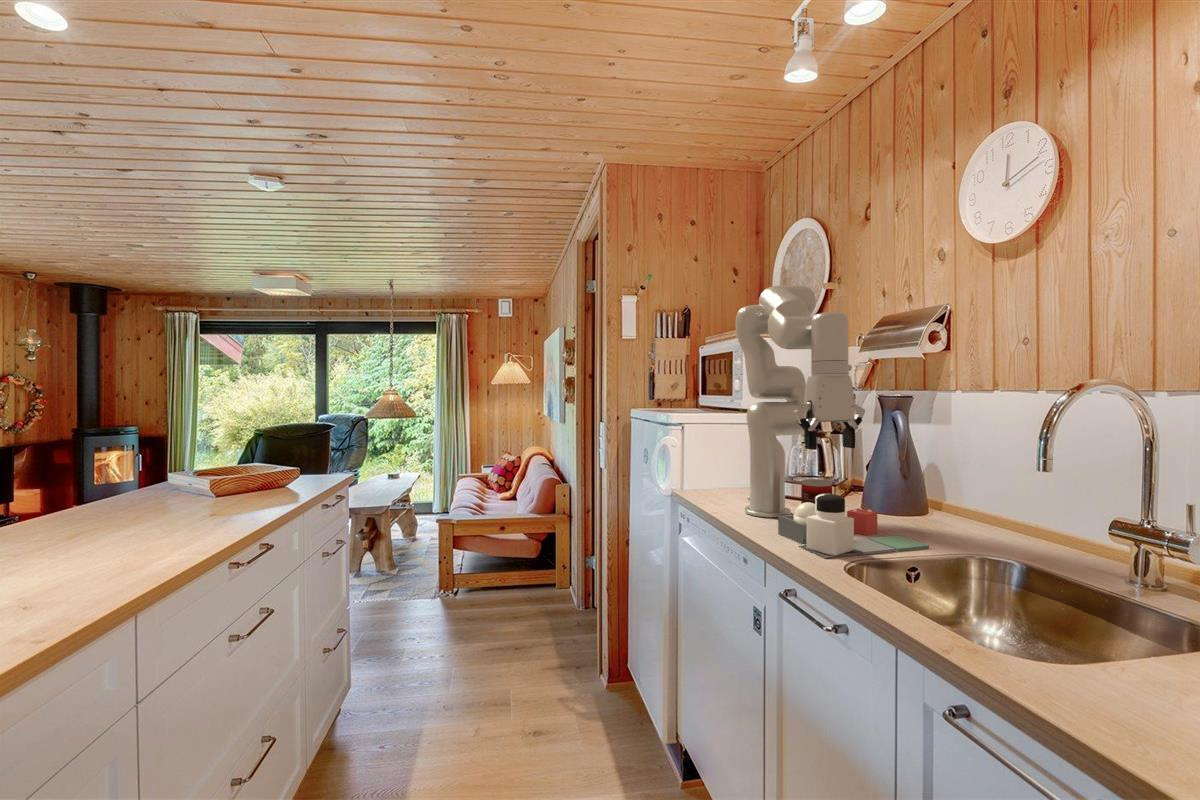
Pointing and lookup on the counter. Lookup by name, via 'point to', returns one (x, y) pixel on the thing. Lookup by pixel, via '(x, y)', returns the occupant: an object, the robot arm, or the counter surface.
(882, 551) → the game board
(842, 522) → the medicine bottle
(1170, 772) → the counter surface
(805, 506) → the dome
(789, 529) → the base
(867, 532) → the red die
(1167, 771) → the counter surface
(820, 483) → the canned food
